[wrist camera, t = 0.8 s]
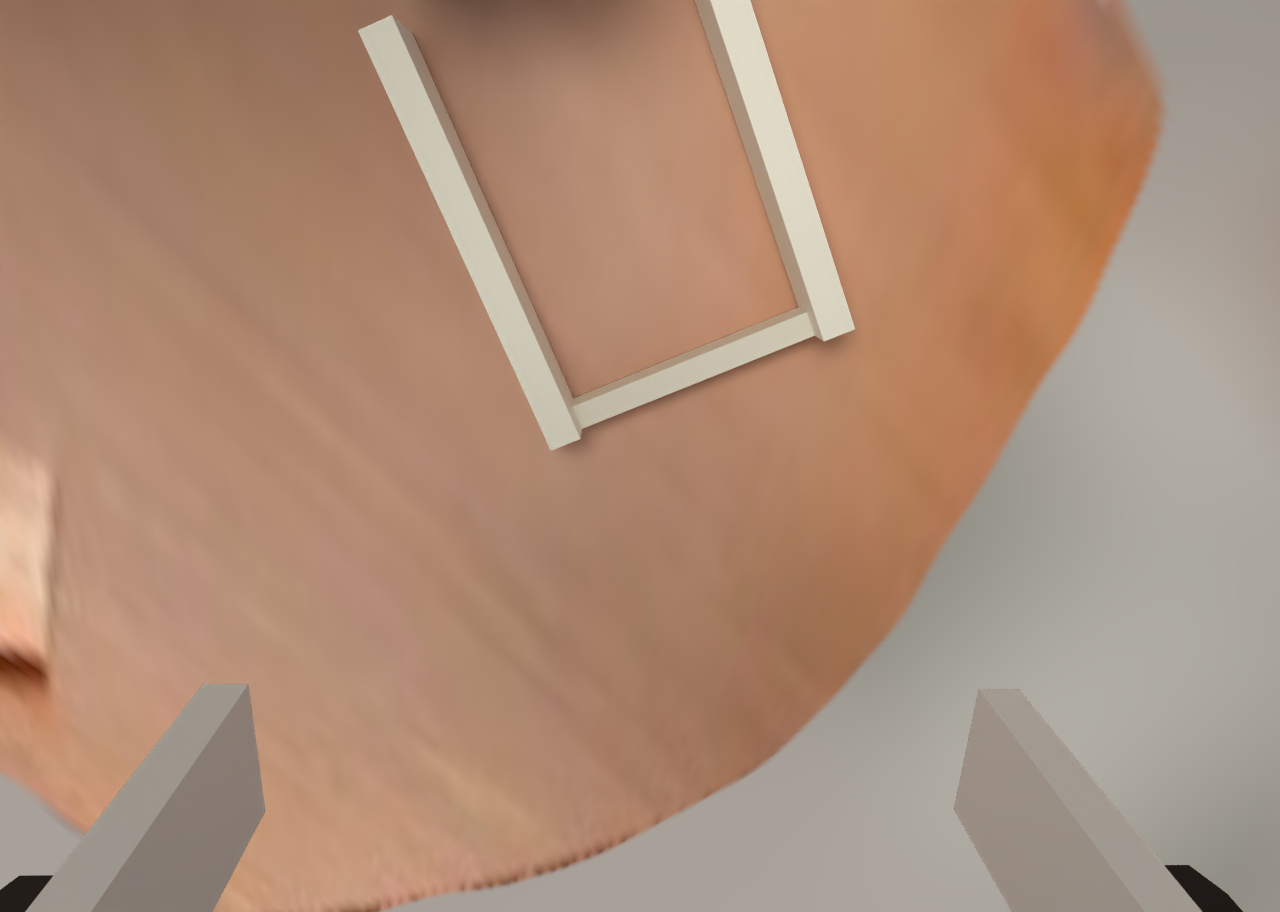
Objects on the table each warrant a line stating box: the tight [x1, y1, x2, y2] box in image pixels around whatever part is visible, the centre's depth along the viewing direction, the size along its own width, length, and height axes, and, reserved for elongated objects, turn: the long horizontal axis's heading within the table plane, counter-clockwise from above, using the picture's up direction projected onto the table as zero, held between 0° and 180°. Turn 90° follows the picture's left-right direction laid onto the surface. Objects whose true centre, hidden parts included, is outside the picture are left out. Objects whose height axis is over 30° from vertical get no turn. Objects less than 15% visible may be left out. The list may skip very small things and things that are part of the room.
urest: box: [358, 0, 855, 451], centre depth 36 cm, size 19×15×4 cm
